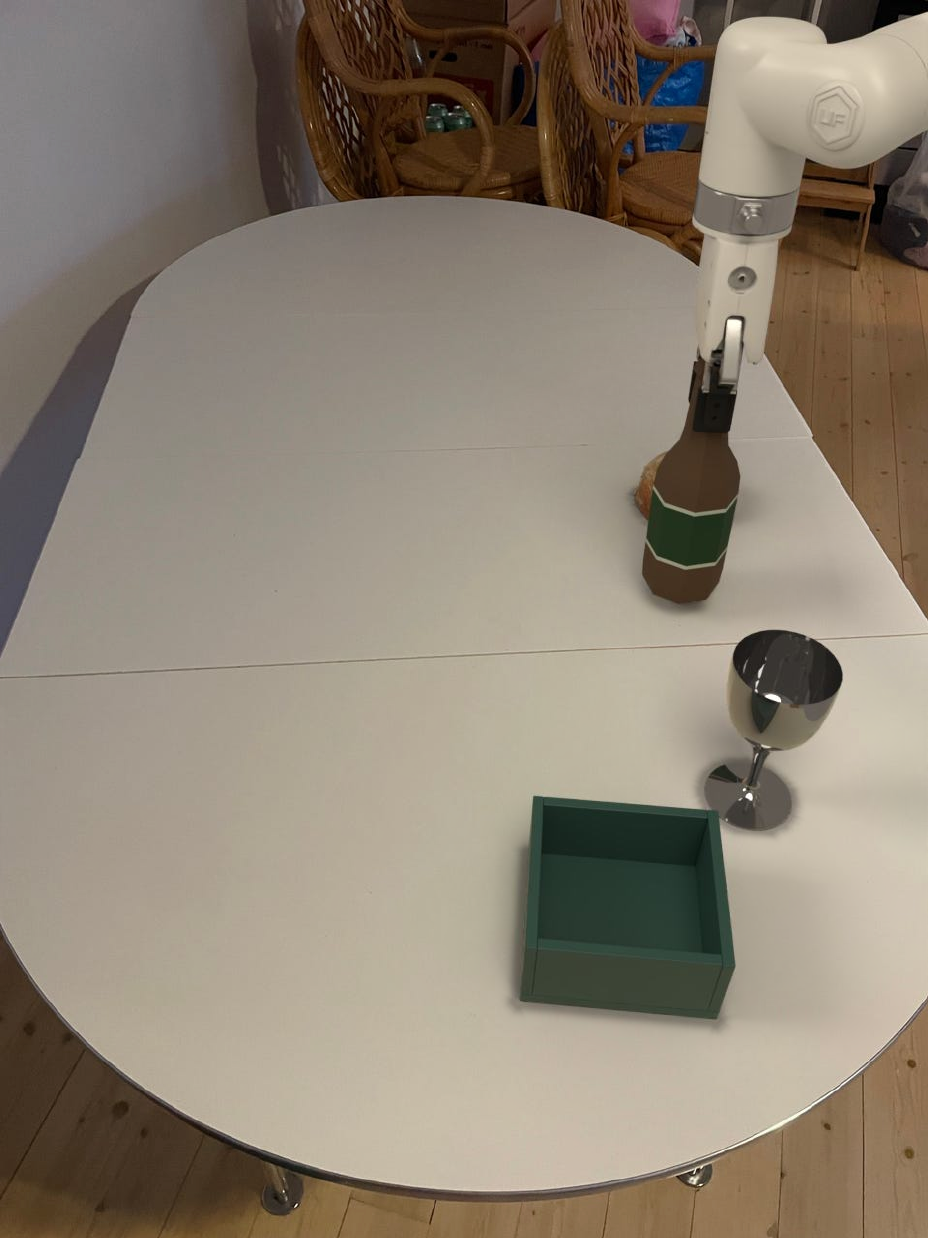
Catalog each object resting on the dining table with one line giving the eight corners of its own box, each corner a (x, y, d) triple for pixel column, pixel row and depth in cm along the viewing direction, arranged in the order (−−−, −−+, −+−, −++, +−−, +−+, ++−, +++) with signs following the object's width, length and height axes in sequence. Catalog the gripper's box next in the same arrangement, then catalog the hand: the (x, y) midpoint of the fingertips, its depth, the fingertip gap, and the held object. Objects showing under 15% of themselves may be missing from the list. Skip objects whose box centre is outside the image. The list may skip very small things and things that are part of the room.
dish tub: (702, 866, 81) (718, 810, 76) (716, 1019, 72) (735, 966, 67) (528, 851, 82) (533, 795, 77) (519, 1001, 73) (524, 947, 68)
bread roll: (644, 502, 124) (622, 448, 119) (730, 476, 120) (711, 420, 115) (647, 554, 116) (624, 498, 112) (739, 528, 113) (718, 469, 108)
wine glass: (718, 840, 83) (755, 710, 73) (686, 764, 89) (717, 634, 79) (812, 828, 84) (862, 699, 74) (775, 753, 90) (816, 624, 80)
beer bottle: (719, 561, 106) (763, 342, 90) (719, 610, 100) (767, 385, 84) (642, 553, 107) (672, 335, 91) (638, 601, 101) (670, 377, 86)
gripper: (812, 249, 73) (763, 471, 85) (779, 170, 85) (741, 373, 98) (703, 245, 73) (670, 467, 86) (687, 167, 86) (660, 370, 98)
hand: (708, 415), depth 91 cm, fingers closed on beer bottle, 3 cm apart
